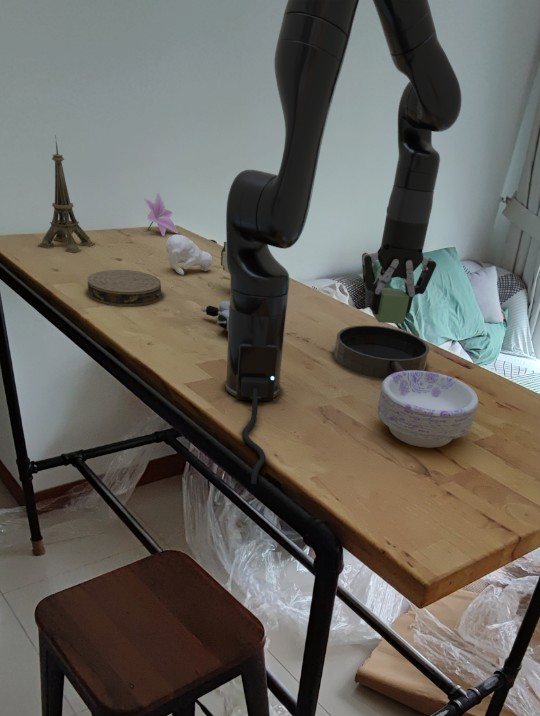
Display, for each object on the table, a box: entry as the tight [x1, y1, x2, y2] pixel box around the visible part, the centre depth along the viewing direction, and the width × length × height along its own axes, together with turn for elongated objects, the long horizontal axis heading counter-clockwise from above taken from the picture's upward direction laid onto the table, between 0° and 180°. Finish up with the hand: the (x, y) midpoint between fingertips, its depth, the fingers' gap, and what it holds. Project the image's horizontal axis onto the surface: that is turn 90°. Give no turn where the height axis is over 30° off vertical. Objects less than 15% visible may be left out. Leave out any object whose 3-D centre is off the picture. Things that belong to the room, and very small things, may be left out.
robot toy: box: [200, 300, 230, 332], centre depth 134 cm, size 12×4×15 cm
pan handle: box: [390, 361, 405, 373], centre depth 117 cm, size 9×2×2 cm, turn 9°
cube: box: [371, 287, 409, 325], centre depth 122 cm, size 5×5×5 cm
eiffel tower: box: [37, 135, 96, 254], centre depth 164 cm, size 11×11×25 cm
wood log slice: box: [87, 269, 162, 307], centre depth 144 cm, size 16×16×3 cm
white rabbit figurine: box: [165, 234, 213, 276], centre depth 162 cm, size 6×8×12 cm
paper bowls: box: [376, 370, 479, 449], centre depth 103 cm, size 15×15×8 cm
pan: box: [333, 324, 430, 380], centre depth 127 cm, size 18×18×4 cm
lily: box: [143, 191, 179, 237], centre depth 190 cm, size 12×12×10 cm
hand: (388, 313), depth 123 cm, fingers closed on cube, 5 cm apart
